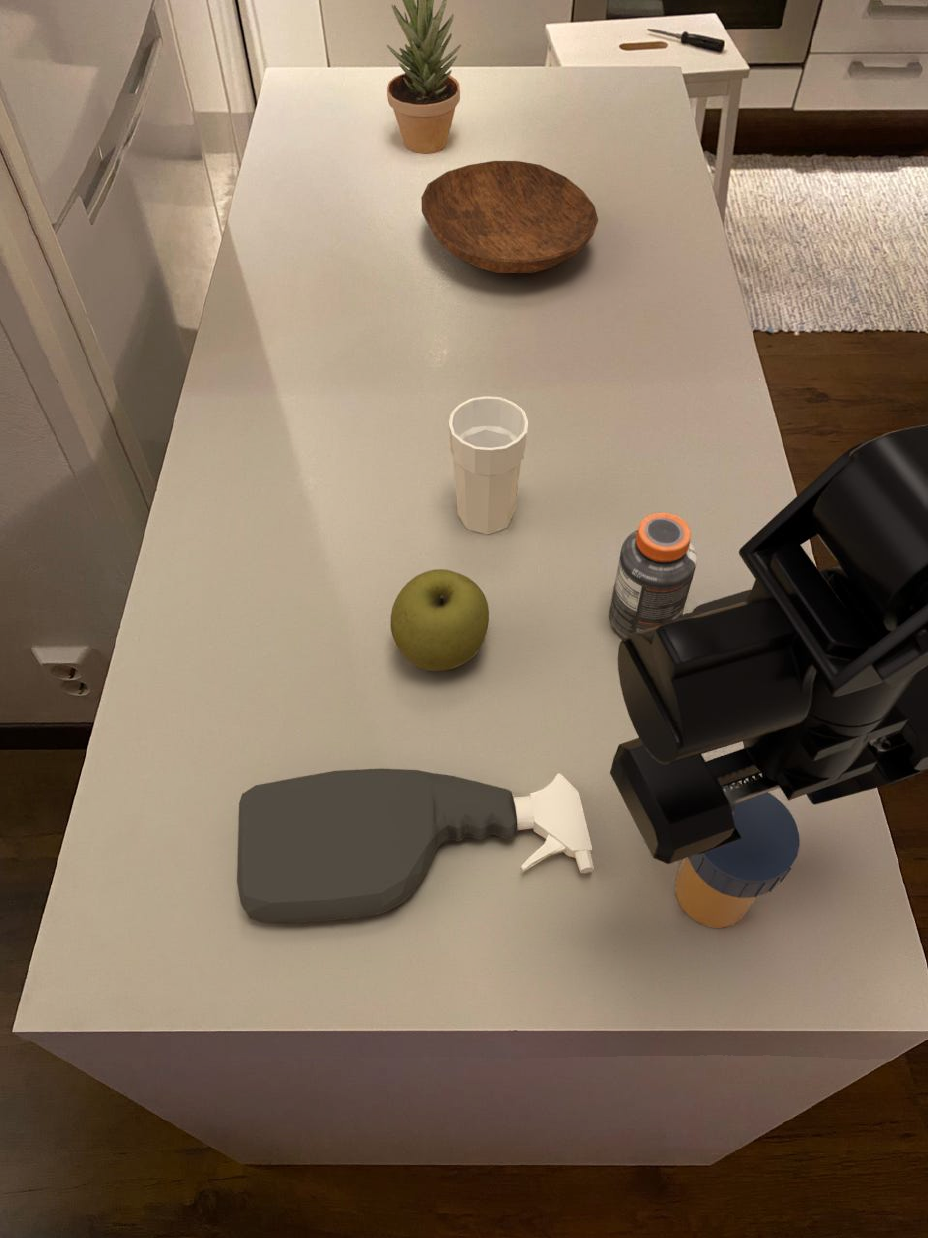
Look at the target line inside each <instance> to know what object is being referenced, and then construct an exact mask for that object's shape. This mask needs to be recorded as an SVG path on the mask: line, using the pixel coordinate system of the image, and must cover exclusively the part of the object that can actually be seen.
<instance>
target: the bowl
mask: <svg viewBox="0 0 928 1238" xmlns="http://www.w3.org/2000/svg"><path fill="white" fill-rule="evenodd" d="M421 195H422V196H421V198H420V199H421V214H422V215H423V218H424V219H425V222H426V223H427V225H428V227H429V228H430V230H431V231H432V233H433V235H434V237H435V238H436V240H437V242H438V243H440V244H441V245H442V246H443V247H444V248H445V249H447V250H448V251H449V252H450V253H451V254H452V255H453V256H454V257H456V258H459V259H461V260H462V261H464V262H466V263H469V264H470V265H472V266H474V267H476V268H479V269H482V270H486V271H489V272H493V273H497V274H533V273H537V272H541V271H545V270H547V269H548V270H549V269H552V268H553V267H555V266H557V265H559V264H561V263H562V262H564V261H565V260H567V259H569V258H571V257H573V256H574V255H576V254H577V253H578V252H579V251H580V250H581V249H582V248H583V247H585V246H586V245H587V243H589V241H590V240H591V239H592V237H593V236H594V235H595V233H596V232H595V231H596V230H597V226H598V223H599V217H598V213H597V209H596V206H595V204H593V202H592V201H591V199H590V198H589V197H588V195H587V194H586V193H585V191H584V190H583V189H581V188H580V187H579V186H578V185H577V184H575V182H573V181H571V179H569V178H568V177H567V176H565V175H563V174H560V173H559V172H557V171H554V170H552V169H550V168H548V167H545V166H543V165H542V164H536V163H532V162H525V161H521V160H491V161H490V160H489V161H485V162H479V163H473V164H472V163H471V164H467V165H464V166H461V167H458V168H455V169H452V170H448V171H446V172H444V173H443V174H441V175H440V176H438V177H437V178H435V179H433V180H432V181H430V182H429V183H427V185H426V187H425V189H424V191H423V194H421Z"/></svg>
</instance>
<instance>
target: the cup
mask: <svg viewBox="0 0 928 1238" xmlns="http://www.w3.org/2000/svg"><path fill="white" fill-rule="evenodd" d="M528 427H529V420H528V418H527V414H526V411H525V410H524V409H522V408H521V407H520V406H519V405H517V404H516V402H513V401H510V400H509V399H506V398H504V397H502V396H501V397H499V396H488V395H487V396H479V397H478V396H477V397H471V398H470V399H467V400H466V401H463V402H462V403H460V404H458V405H457V407H455V409H453V410H452V412H450V415H449V421H448V430H449V443H450V452H451V456H452V460H453V471H454V482H455V484H454V485H455V495H456V507H457V508H456V510H457V516H458V518H459V519H460V521H461V522H462V524H463V526H464V527H465V529H466V530H468V531H473V532H476V533H480V534H483V535H486V536H487V535H491V534H494V533H497V532H499V531H503V530H506V529H508V528H509V526H510V523H511V521H512V519H513V517H514V515H515V511H516V510H515V509H516V500H517V493H518V485H519V479H520V472H521V465H522V461H523V460H524V459H525V458H524V457H525V451H526V450H525V449H526V444H527V443H526V442H527V435H528Z"/></svg>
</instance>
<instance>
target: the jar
mask: <svg viewBox="0 0 928 1238" xmlns="http://www.w3.org/2000/svg"><path fill="white" fill-rule="evenodd" d="M674 890H675V891H674V893H675V896H676V899H677V902H678V903H679V905H680V907H681V909H682V910H683V911H684V913H685V914H686V915H687V916H688V917H689V918H691V919H692V920H694V921H695V922H697V923H699V924H701V925H703V926H705V927H709V928H713V929H715V928H716V929H721V928H727V927H731V926H733V925H736V924H737V923H738V922H740V921H741V920H742V919H743V918H744V917H745V915H746V914H747V913H748V911H749V910H750V908H751V907H752V905H753V904H754V902H755V901H756V899H757V898H755V897H752V898H739V897H733V896H729V895H726V894H722V893H721V892H719V891H717V890H715V889H714V888H712V887H710V886H709V885H707V883H705V882H704V881H703V880H702V879H701V878H700V877H699V875H698V874H697V873H696V872H695V870H694V868H693V867H692V865H691V863H690V861H689V858H688V857H687V858H684V859H683V861H682V863H681V865H680V867H679V869H678V871H677V874H676V876H675V881H674Z"/></svg>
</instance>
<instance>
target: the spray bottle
mask: <svg viewBox="0 0 928 1238" xmlns="http://www.w3.org/2000/svg"><path fill="white" fill-rule="evenodd" d="M580 796H581V795H580V792H579V791H578V790H577V789H576V788H575V787H574V786H573V785H572V784H571V783H570V782H569V781H568V779H566V777H565V776H563V774H561V772H558V773H557V774H556V775H555V776H554V777H553V779H552V781H551V782H550V783H549V784H547V785H546V786H545V787H543V788H542V789H539V790H537V791H534V792H531V793H529V795H526V796H514V794H513V792H512V790H509V789H507V788H503V787H499V786H495V785H491V784H487V783H483V782H479V781H475V780H472V779H467V778H463V777H459V776H456V775H448V774H441V773H434V772H429V771H423V770H419V769H405V768H403V769H401V768H365V769H345V770H331V771H326V772H320V773H313V774H308V775H303V776H298V777H293V778H292V777H291V778H288V779H287V778H286V779H282V780H276V781H272V782H267V783H260V784H256V785H254V786H252V787H251V788H249V789H248V790H246V791H244V792H242V793H241V796H240V800H239V803H238V824H237V825H238V829H237V831H238V832H237V861H236V862H237V866H236V868H237V869H236V885H237V888H238V889H237V890H238V895H239V901H240V905H241V907H242V909H243V911H244V912H245V913H246V916H247V917H248V919H250V920H254V921H258V922H261V923H307V922H318V921H319V922H320V921H332V920H333V921H334V920H345V919H359V918H367V917H372V916H376V915H381V914H385V913H387V912H389V911H390V910H392V909H394V908H396V907H398V906H399V905H401V904H403V903H404V902H405V901H406V900H407V899H408V898H409V897H410V896H411V895H412V894H413V893H414V891H415V890H416V888H417V887H418V886H419V885H420V883H421V882H422V880H423V879H424V877H425V876H426V874H427V872H428V870H429V867H430V865H431V863H432V860H433V859H434V856H435V854H436V852H437V850H438V848H439V846H441V845H443V844H444V843H446V842H448V841H449V840H452V841H458V842H460V841H462V840H463V839H465V838H467V837H469V838H472V839H473V838H474V839H478V840H483V839H485V838H487V837H490V836H491V835H495V836H498V837H500V838H502V839H505V840H506V841H509V842H511V841H513V840H514V839H515V838H516V837H517V836H518V831H522V830H531V829H532V830H533V831H532V832H534V833H536V834H537V835H538V836H540V837H542V838H543V839H545V841H544V843H543V844H542V845H541V846H540V847H539V848H538V849H536V851H534V852H533V853H532V854H531V855H530V856H529V857H528V858H527V859H526V860H525V861H524V862H523V864H522V865H521V866H520V870H521V871H522V872H523V873H524V872H526V871H527V870H529V869H530V868H532V867H534V866H535V865H537V864H538V863H540V862H543V860H545V859H546V858H548V857H550V856H553V855H557V854H560V853H564V854H565V855H566V856H567V857H570V858H575V861H576V863H577V867H578V870H579V873H580V874H589V873H591V872H593V871H594V869H595V866H594V862H593V857H592V854H593V846H592V842H591V837H590V834H589V829H588V825H587V821H586V817H585V812H584V808H583V805H582V804H583V803H582V800H581V797H580Z"/></svg>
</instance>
